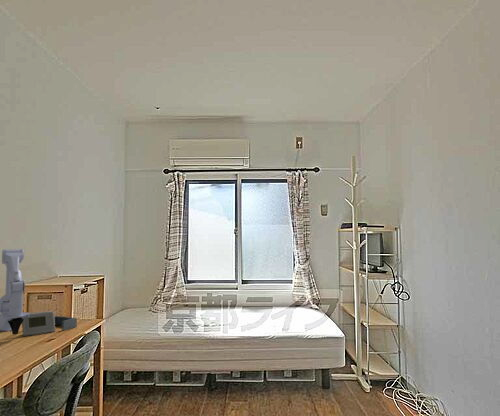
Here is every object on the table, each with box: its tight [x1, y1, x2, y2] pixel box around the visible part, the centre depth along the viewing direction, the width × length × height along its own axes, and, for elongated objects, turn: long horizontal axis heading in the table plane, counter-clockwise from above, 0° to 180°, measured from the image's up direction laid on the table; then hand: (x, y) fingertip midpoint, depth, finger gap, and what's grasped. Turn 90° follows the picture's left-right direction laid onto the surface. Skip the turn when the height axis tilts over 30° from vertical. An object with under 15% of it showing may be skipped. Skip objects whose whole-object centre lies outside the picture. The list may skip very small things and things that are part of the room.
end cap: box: [54, 315, 78, 331], centre depth 236 cm, size 14×9×5 cm, turn 68°
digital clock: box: [21, 310, 56, 337], centre depth 223 cm, size 16×9×11 cm, turn 123°
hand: (15, 334), depth 209 cm, fingers closed
